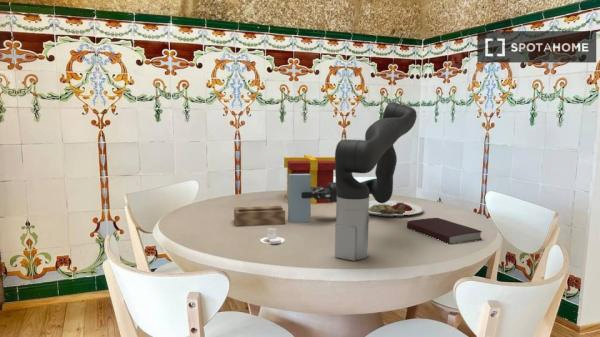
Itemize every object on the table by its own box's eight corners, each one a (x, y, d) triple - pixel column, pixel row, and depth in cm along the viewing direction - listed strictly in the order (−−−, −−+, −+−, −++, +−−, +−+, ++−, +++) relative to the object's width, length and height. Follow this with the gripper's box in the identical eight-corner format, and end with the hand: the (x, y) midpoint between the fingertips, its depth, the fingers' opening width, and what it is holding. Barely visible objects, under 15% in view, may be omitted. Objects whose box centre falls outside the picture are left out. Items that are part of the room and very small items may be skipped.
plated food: (337, 208, 190) (337, 201, 190) (384, 201, 208) (385, 194, 208) (390, 222, 166) (390, 214, 166) (438, 212, 184) (438, 204, 184)
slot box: (280, 218, 170) (280, 205, 170) (285, 224, 161) (285, 210, 161) (234, 220, 166) (234, 207, 166) (236, 226, 158) (235, 212, 157)
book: (448, 246, 138) (449, 234, 137) (406, 229, 158) (406, 219, 157) (482, 241, 143) (482, 230, 143) (437, 226, 163) (438, 216, 163)
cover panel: (308, 220, 168) (309, 173, 166) (310, 221, 165) (311, 174, 163) (288, 220, 167) (288, 174, 164) (289, 222, 163) (290, 175, 161)
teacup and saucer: (281, 246, 135) (281, 233, 135) (256, 245, 136) (256, 232, 136) (287, 239, 144) (287, 226, 143) (263, 237, 145) (263, 225, 144)
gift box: (282, 194, 221) (282, 155, 219) (330, 194, 224) (331, 154, 221) (286, 205, 196) (286, 160, 194) (340, 204, 199) (341, 159, 197)
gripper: (334, 179, 175) (295, 180, 171) (346, 185, 161) (303, 186, 157) (334, 198, 175) (295, 199, 172) (345, 205, 162) (303, 207, 158)
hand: (299, 193), depth 165 cm, fingers open, 8 cm apart
